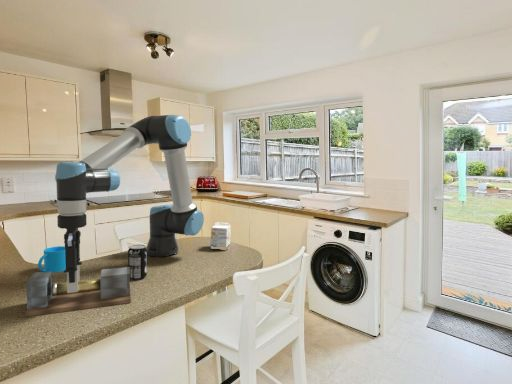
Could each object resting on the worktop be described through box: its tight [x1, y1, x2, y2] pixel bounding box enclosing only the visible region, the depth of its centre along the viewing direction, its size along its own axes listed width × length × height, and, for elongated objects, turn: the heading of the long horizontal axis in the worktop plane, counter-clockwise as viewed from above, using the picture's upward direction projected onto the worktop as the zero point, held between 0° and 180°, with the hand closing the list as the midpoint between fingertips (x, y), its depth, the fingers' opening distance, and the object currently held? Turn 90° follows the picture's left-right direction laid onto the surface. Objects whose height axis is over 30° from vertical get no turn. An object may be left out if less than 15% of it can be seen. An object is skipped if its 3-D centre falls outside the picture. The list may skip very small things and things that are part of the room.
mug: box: [37, 245, 66, 273], centre depth 123 cm, size 12×8×8 cm
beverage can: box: [127, 244, 148, 281], centre depth 118 cm, size 7×7×12 cm
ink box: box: [210, 221, 232, 247], centre depth 163 cm, size 9×8×13 cm
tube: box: [51, 278, 101, 296], centre depth 97 cm, size 16×4×4 cm, turn 113°
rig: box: [25, 266, 132, 318], centre depth 97 cm, size 27×12×9 cm, turn 113°
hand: (73, 289), depth 96 cm, fingers closed on tube, 4 cm apart
